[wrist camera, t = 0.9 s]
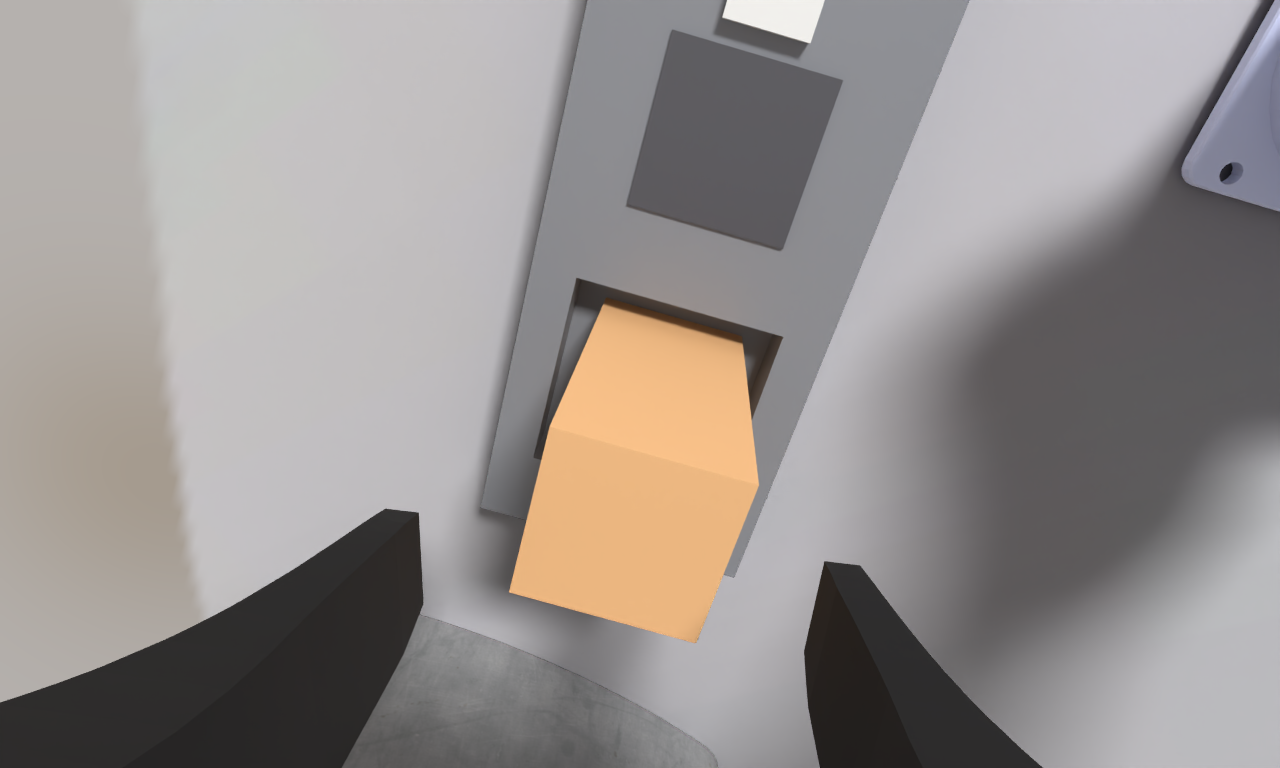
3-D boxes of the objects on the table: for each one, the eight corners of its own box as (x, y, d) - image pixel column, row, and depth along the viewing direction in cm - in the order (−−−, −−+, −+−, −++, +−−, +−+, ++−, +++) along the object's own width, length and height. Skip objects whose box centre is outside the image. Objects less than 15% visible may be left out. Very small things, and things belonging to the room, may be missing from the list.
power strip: (1114, -428, 14) (1187, -516, 12) (732, 538, 24) (734, 586, 22) (721, -555, 14) (724, -667, 12) (497, 473, 24) (476, 514, 22)
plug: (742, 336, 21) (758, 485, 14) (700, 454, 22) (696, 643, 15) (606, 297, 21) (549, 427, 13) (574, 418, 22) (508, 592, 15)
